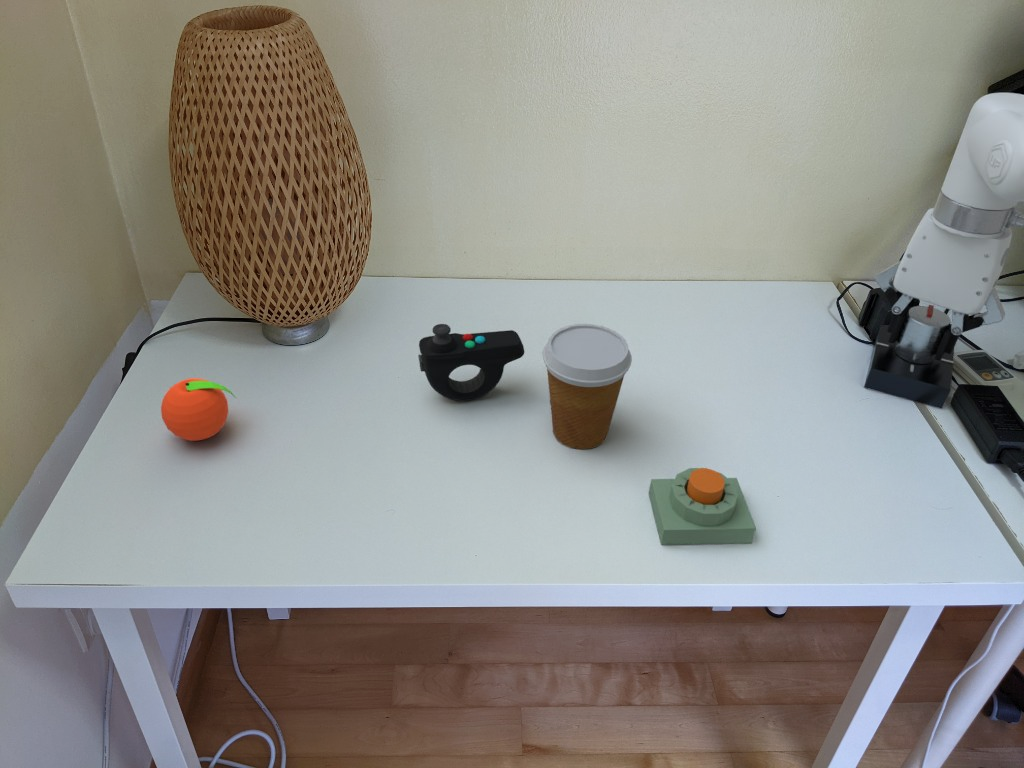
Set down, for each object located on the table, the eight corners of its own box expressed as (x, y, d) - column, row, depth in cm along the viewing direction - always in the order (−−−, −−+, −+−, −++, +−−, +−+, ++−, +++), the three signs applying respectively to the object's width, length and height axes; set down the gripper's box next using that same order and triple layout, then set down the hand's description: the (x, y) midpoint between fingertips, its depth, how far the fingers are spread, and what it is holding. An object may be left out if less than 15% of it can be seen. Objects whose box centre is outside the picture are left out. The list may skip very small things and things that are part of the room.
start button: (716, 480, 78) (720, 467, 77) (725, 505, 75) (728, 492, 74) (683, 480, 78) (686, 468, 77) (691, 505, 75) (693, 492, 74)
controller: (419, 389, 95) (415, 320, 89) (518, 378, 97) (520, 310, 91) (423, 411, 92) (419, 341, 86) (525, 399, 94) (528, 330, 88)
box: (732, 492, 82) (740, 464, 79) (751, 543, 76) (760, 515, 74) (648, 493, 81) (653, 466, 79) (661, 545, 76) (666, 517, 73)
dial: (933, 368, 95) (950, 328, 92) (892, 357, 97) (907, 318, 93) (936, 348, 98) (952, 309, 95) (895, 338, 100) (910, 300, 97)
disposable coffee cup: (522, 438, 88) (525, 351, 81) (565, 395, 94) (572, 312, 87) (595, 471, 84) (605, 383, 77) (635, 425, 90) (648, 339, 83)
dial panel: (941, 408, 94) (951, 388, 92) (863, 387, 97) (871, 367, 95) (946, 358, 102) (955, 338, 100) (874, 340, 105) (882, 320, 103)
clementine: (245, 409, 91) (232, 360, 87) (242, 447, 86) (229, 397, 82) (173, 417, 90) (157, 368, 86) (166, 457, 84) (148, 407, 80)
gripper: (1064, 223, 84) (997, 359, 95) (904, 181, 93) (860, 311, 104) (1050, 247, 79) (981, 387, 90) (883, 201, 88) (839, 334, 99)
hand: (917, 345), depth 97 cm, fingers closed on dial, 4 cm apart
